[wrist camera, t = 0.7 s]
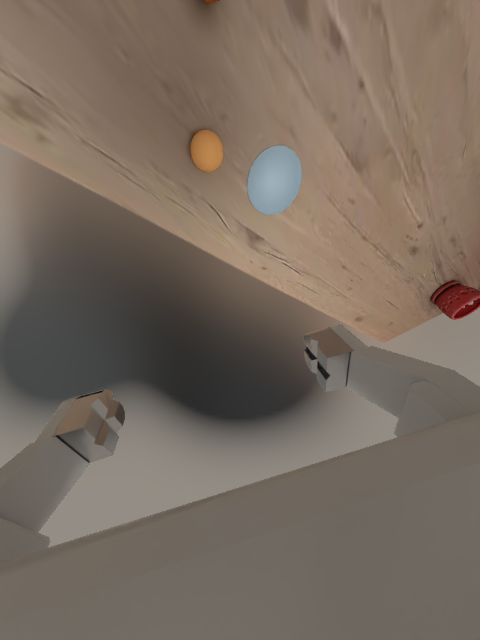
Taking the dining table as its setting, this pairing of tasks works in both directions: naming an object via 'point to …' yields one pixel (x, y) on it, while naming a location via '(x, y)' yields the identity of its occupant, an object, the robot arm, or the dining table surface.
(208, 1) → the carrot
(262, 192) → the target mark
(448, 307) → the plant pot
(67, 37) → the dining table surface
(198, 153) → the ball
